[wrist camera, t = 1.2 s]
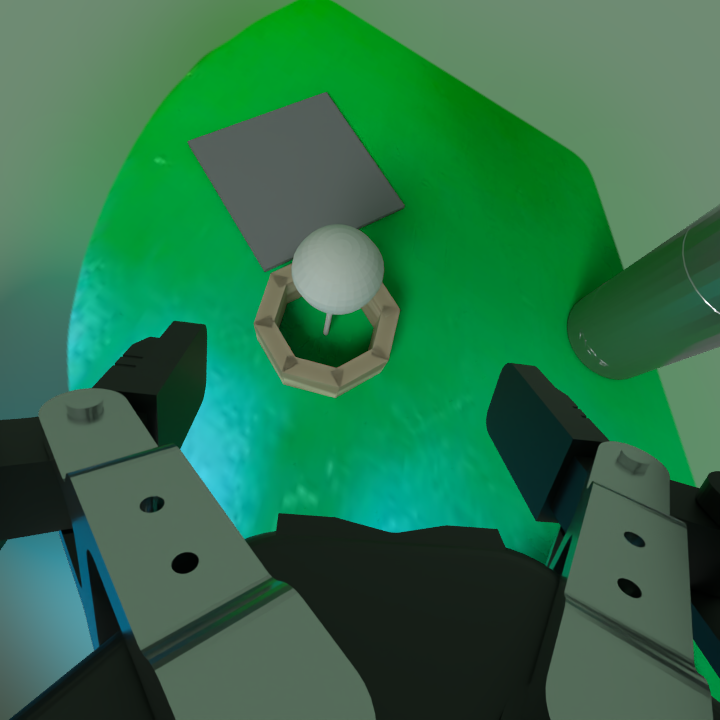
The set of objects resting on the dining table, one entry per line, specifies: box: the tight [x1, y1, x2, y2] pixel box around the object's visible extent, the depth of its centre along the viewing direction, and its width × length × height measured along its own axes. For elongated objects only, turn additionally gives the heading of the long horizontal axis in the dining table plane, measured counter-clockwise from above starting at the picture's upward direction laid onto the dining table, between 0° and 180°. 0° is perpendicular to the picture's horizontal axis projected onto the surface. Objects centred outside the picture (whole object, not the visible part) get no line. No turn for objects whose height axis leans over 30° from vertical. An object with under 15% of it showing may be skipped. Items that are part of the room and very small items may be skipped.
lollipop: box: [291, 224, 384, 335], centre depth 34 cm, size 6×6×15 cm
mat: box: [188, 92, 405, 272], centre depth 46 cm, size 16×16×1 cm
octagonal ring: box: [254, 264, 400, 398], centre depth 40 cm, size 12×11×4 cm
